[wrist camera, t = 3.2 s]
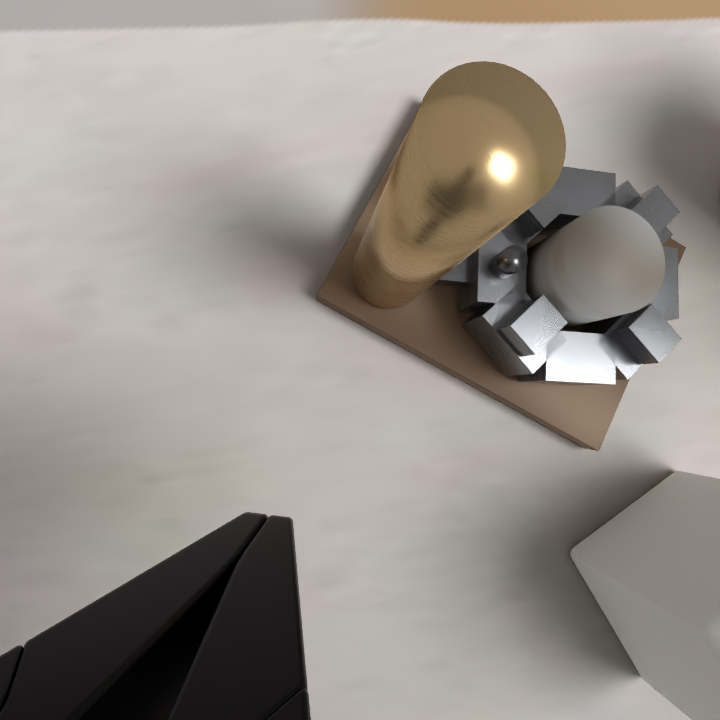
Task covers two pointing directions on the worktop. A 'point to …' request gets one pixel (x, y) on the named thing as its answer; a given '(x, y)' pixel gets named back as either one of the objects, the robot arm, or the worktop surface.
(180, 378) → the worktop surface
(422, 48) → the worktop surface
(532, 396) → the mount board
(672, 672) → the medicine bottle
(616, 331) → the desk sculpture ornament
